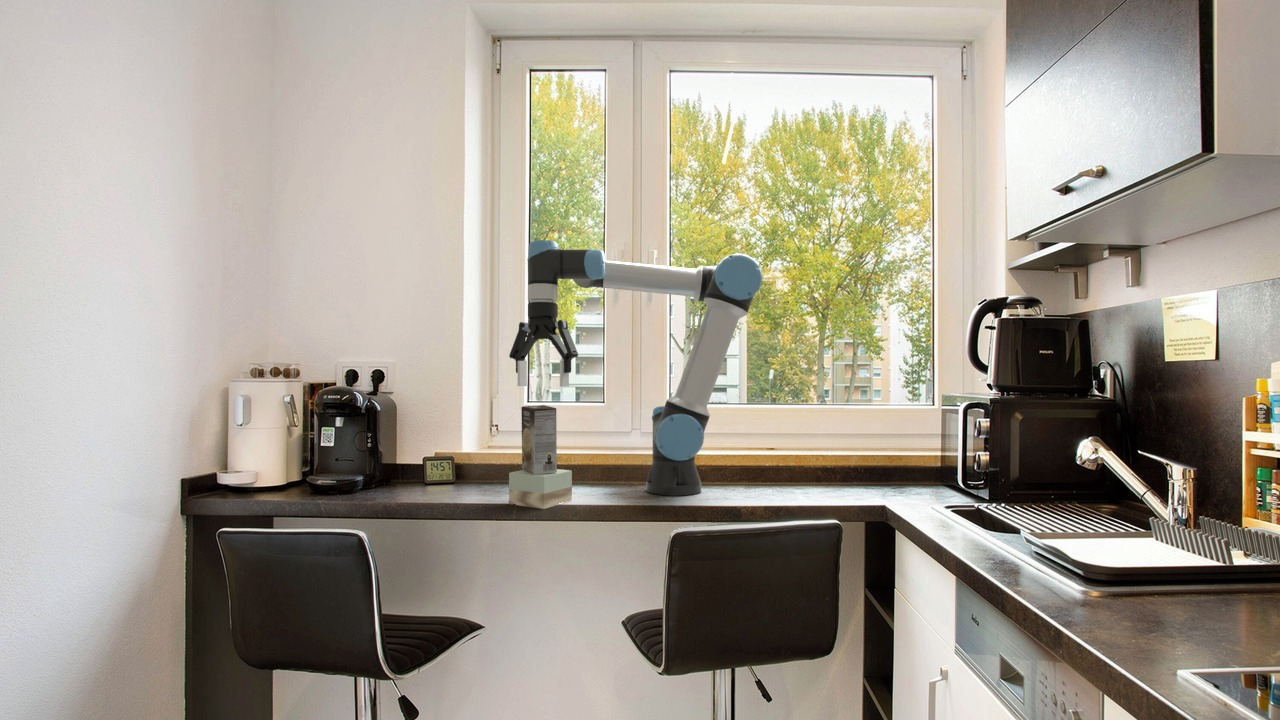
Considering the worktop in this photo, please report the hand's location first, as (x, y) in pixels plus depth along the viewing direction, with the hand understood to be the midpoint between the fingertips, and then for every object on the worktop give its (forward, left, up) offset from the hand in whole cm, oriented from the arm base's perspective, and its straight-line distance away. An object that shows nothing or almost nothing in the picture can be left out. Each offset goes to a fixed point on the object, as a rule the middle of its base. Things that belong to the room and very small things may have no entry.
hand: (542, 386), depth 160 cm
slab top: (-1, +1, -25) cm, 25 cm away
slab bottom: (-1, +1, -29) cm, 29 cm away
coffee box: (0, +2, -21) cm, 21 cm away
